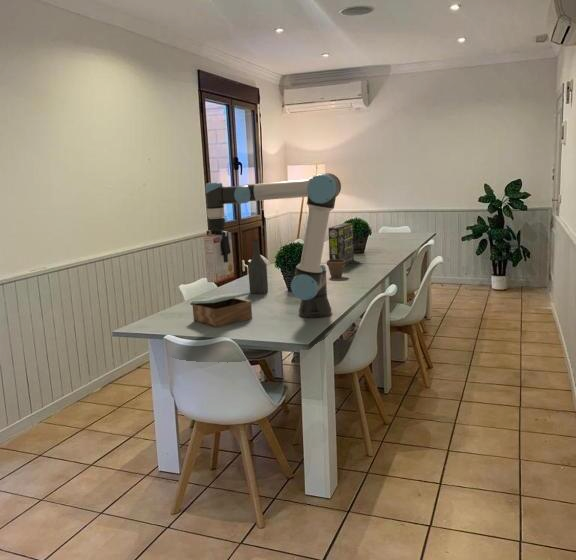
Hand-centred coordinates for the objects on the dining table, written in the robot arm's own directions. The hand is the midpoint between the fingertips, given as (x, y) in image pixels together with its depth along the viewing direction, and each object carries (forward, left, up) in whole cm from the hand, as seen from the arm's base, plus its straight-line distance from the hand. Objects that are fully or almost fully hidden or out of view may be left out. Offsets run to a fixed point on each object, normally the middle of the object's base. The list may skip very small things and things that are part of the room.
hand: (220, 268), depth 264 cm
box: (+57, -140, -24) cm, 153 cm away
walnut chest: (+1, 0, -24) cm, 24 cm away
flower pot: (+28, -104, -24) cm, 110 cm away
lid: (+1, 0, -14) cm, 14 cm away
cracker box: (0, 0, -5) cm, 5 cm away
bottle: (+34, -48, -24) cm, 64 cm away
